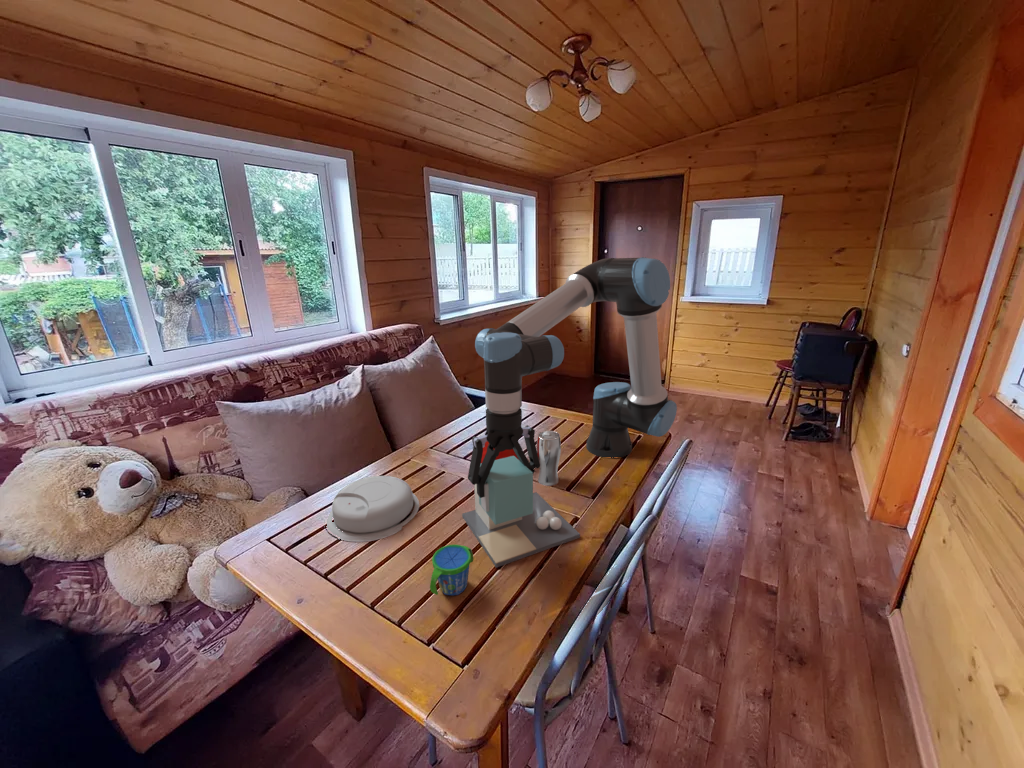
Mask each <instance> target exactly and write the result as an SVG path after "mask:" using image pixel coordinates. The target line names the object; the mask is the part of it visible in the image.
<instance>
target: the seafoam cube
mask: <svg viewBox="0 0 1024 768" xmlns="http://www.w3.org/2000/svg"><path fill="white" fill-rule="evenodd" d="M481 464H482V463H481ZM480 466H481V465H480ZM486 482H487V483H488V485H489V511H488V512H486V511H485V510H484V511H485V512H486V513H487V514H488V516H489V517H490V518H491V520H492V521H493V522H494V523H495V525H497V524H500V523H503V522H506V521H510V520H513V519H516V518H519V517H523V516H526V515H529V514H532V513H533V493H534V474H533V472H532V471H531V470H529V469H528V468H527V467H526V466H524V465H523V464H522V463H521V462H520V461H519V460H518V459H517V458H516V457H515V456H510V457H506V458H502V459H498V460H495V461H494V464H493V466H492V468H491V470H490V473H489V475H488V477H487V480H486ZM479 504H480V505H481V498H480V497H479ZM481 507H482V506H481ZM482 508H483V507H482Z"/></svg>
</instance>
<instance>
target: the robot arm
mask: <svg viewBox="0 0 1024 768" xmlns="http://www.w3.org/2000/svg"><path fill="white" fill-rule="evenodd" d="M670 290H671V277H670V273H669V269H668V267H667V266H666V265H665V263H663V262H662V261H661V260H659V259H657V258H650V257H649V258H648V257H644V256H642V257H607V258H602V259H600V260H597V261H594V262H592V263H590V264H588V265H586V266H584V267H581V268H580V269H578V270H577V271H575V272H573V273H572V274H570V275H569V276H568V277H567V278H566V280H565V282H564V284H563V285H561V286H559V287H558V288H557V289H555V290H554V291H552V292H551V293H549V294H548V295H546V296H545V297H543V298H542V299H540V300H539V301H537V302H535V303H534V304H533V305H531V306H530V307H528V308H527V309H525V310H523V311H522V312H520V313H519V314H518V315H516V316H514V317H513V318H511V319H510V320H509V321H507V322H505V323H504V324H502V325H501V326H499V327H497V328H484V329H482V330H480V331H479V332H478V333H477V335H476V337H475V340H474V348H475V352H476V353H477V354H478V356H480V357H481V358H482V359H483V366H484V367H483V369H484V370H483V372H484V392H485V393H484V395H485V396H484V398H485V408H486V409H485V425H486V431H485V433H484V435H481V436H476V435H475V436H473V437H472V438H471V441H472V452H471V458H470V463H469V468H468V473H467V479H468V481H469V482H470V484H472V485H475V484H477V494H478V496H479V497H480V498H481V506H482V507H483V509H484V510H485V511H486V512H488V511H489V485H488V483H487V482H486V480H487V477H488V475H489V473H490V470H491V468H492V466H493V464H494V461H495V459H496V457H498V455H499V453H500V452H502V451H505V450H511V449H513V450H514V452H515V454H516V455H517V457H518V459H519V461H520V462H521V463H522V464H523V465H524V466H526V467H527V468H528V469H529V470H531V471H532V472H533V475H534V474H535V469H539V467H540V463H539V459H538V454H537V444H536V442H535V431H536V430H535V429H534V428H533V427H531V426H530V425H525V427H522V420H523V418H522V416H523V411H522V405H523V402H522V401H523V400H522V396H523V395H522V391H523V390H522V385H523V383H522V382H523V380H522V379H523V377H526V376H529V375H534V374H537V373H542V372H548V371H550V370H552V369H555V368H558V367H559V366H561V364H562V362H563V360H564V359H565V358H564V357H565V348H564V344H563V343H562V341H561V340H560V338H558V337H557V336H556V335H552V334H550V335H544V334H545V333H547V332H548V331H550V330H551V329H552V328H553V327H555V326H556V325H558V324H559V323H560V322H562V321H563V320H564V319H566V318H567V317H568V316H571V314H573V313H574V312H575V311H577V310H578V309H579V308H586V307H589V306H590V305H591V304H594V303H597V302H611V303H612V302H613V303H615V304H616V310H617V314H618V315H619V316H621V317H622V318H623V322H624V323H623V324H624V332H625V341H626V350H627V359H628V360H627V361H628V367H629V376H630V377H629V379H630V383H628V382H624V381H623V382H622V381H621V382H620V381H613V382H605V383H601V384H598V385H597V386H596V387H595V388H594V392H593V397H592V399H593V403H592V404H593V406H592V427H591V430H590V432H589V436H588V438H587V440H586V445H585V446H586V450H587V451H588V452H589V453H590V454H592V455H594V456H596V457H599V456H600V457H599V458H603V457H611V458H610V459H615V458H614V457H621V458H624V456H625V457H627V456H629V455H630V454H631V453H632V452H633V451H632V450H633V443H632V441H631V436H630V433H629V429H630V430H631V429H632V430H634V431H637V432H639V433H643V434H646V435H648V436H653V437H657V438H658V437H662V436H665V435H666V434H667V433H668V432H669V431H670V429H671V427H672V426H673V424H674V422H675V420H676V416H677V411H678V406H677V403H676V402H675V401H673V400H671V399H669V397H668V396H669V393H668V391H667V388H665V387H664V386H662V375H661V371H662V370H661V359H660V345H659V333H658V319H657V318H658V317H657V313H659V311H660V310H661V309H662V307H663V304H664V303H665V302H666V301H667V300H668V297H669V295H670V293H669V291H670ZM522 436H523V438H524V442H525V447H526V450H527V455H528V457H527V456H526V454H525V452H524V450H523V447H522V446H521V444H520V442H519V440H520V439H521V437H522ZM486 441H488V442H489V445H488V447H487V452H486V455H485V457H484V459H483V462H482V464H481V459H482V454H483V448H484V447H485V442H486ZM630 452H631V453H630ZM628 454H629V455H628ZM626 455H627V456H626ZM612 457H613V458H612ZM528 459H529V460H528ZM480 465H481V466H480Z"/></svg>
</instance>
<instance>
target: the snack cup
mask: <svg viewBox="0 0 1024 768" xmlns="http://www.w3.org/2000/svg"><path fill="white" fill-rule="evenodd" d="M431 561H432V567H433V570H432V574H431V577H430V582H429V583H430V584H429V590H430V592H431V593H432V594H433V595H436V596H437V595H439V592H438V589H437V582H438V585H439V588H440V591H441V592H442V594H444V595H445V596H446V595H447V596H459V595H460V594H461V593H463V592H464V591H465V589H466V588H467V586H468V581H469V574H470V573H469V572H470V565H471V563H473V562H474V554H473V550H472V549H471V548H470V547H468V546H465V545H461V544H448V545H445V546H442V547H440V548H439V549H437V550H436V551H435V552H434V553H433V555H432V557H431Z"/></svg>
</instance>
